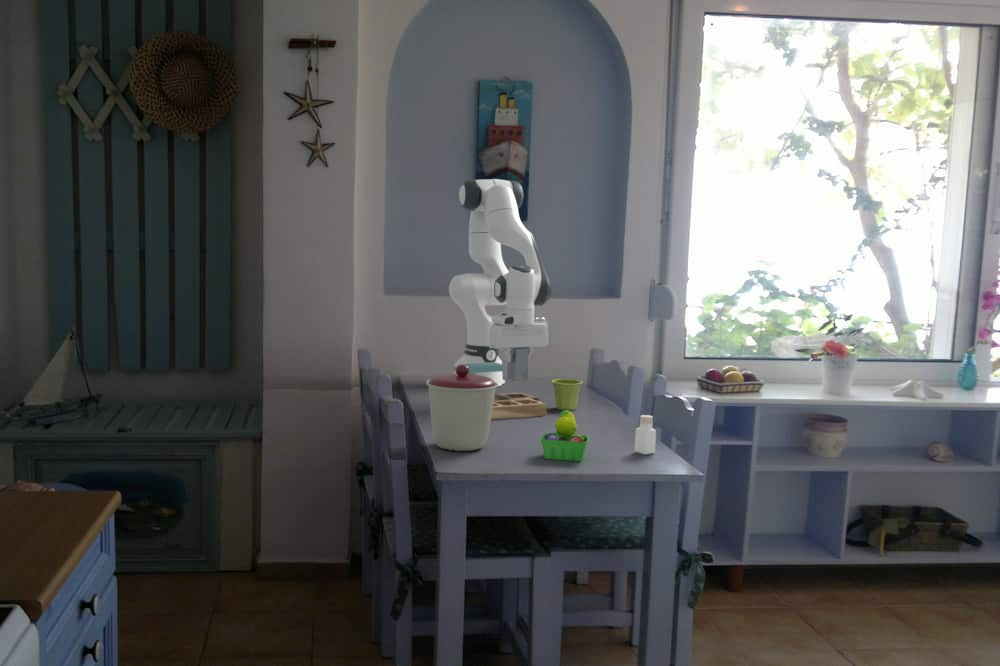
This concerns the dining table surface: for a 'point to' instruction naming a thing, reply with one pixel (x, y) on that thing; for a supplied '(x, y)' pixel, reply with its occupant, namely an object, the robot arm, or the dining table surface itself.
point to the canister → (461, 409)
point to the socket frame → (514, 396)
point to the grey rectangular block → (518, 364)
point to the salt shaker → (645, 436)
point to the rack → (517, 408)
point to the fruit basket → (564, 440)
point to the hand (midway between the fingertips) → (517, 361)
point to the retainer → (484, 367)
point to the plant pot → (566, 393)
